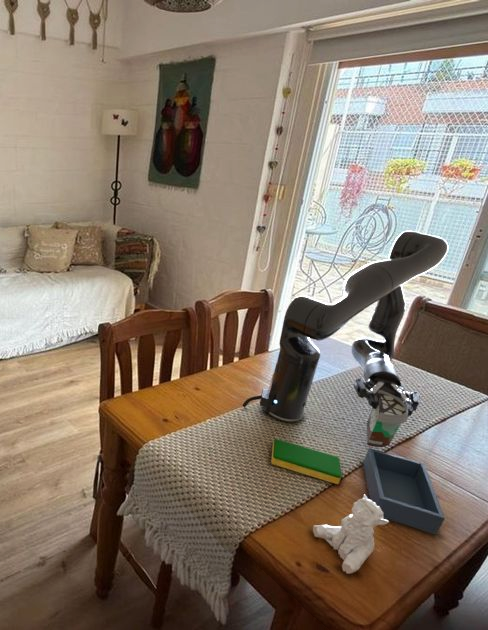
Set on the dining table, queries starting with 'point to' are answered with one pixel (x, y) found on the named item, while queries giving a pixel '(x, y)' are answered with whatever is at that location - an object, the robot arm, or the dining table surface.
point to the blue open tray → (403, 490)
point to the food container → (385, 419)
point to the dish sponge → (306, 461)
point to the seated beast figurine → (354, 533)
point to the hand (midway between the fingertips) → (391, 409)
